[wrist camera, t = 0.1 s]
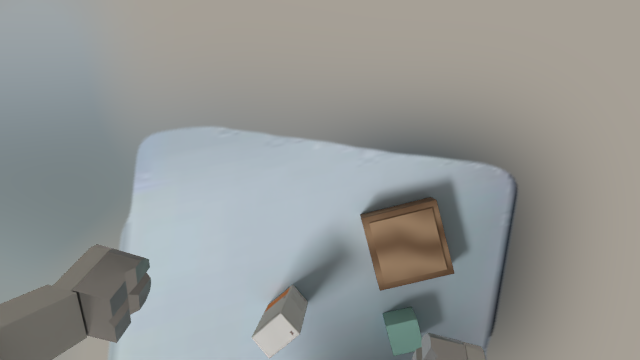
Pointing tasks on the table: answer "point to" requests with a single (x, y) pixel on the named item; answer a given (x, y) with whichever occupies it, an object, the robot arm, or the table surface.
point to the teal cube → (403, 331)
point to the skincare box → (281, 321)
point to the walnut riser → (407, 243)
